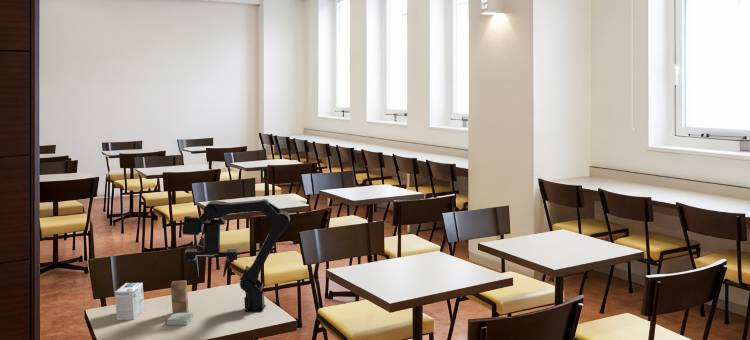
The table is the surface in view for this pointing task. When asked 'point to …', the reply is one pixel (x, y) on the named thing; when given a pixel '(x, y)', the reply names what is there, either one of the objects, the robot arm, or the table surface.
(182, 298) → the pillar
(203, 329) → the table surface
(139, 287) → the light bulb box
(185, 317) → the plinth
